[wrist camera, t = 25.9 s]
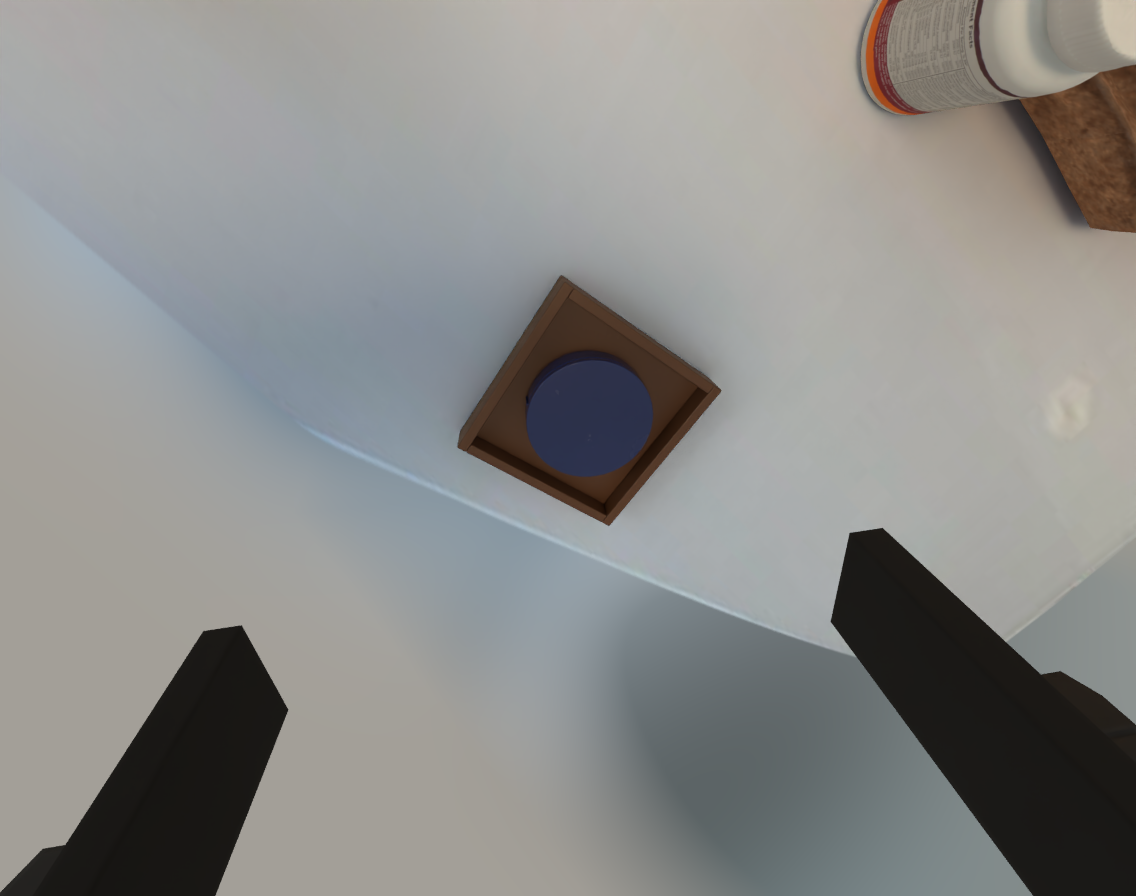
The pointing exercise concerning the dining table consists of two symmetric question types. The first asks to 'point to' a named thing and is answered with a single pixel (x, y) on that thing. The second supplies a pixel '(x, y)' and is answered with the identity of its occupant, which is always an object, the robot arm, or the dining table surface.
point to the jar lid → (588, 413)
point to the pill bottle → (989, 49)
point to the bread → (1095, 144)
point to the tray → (557, 332)
